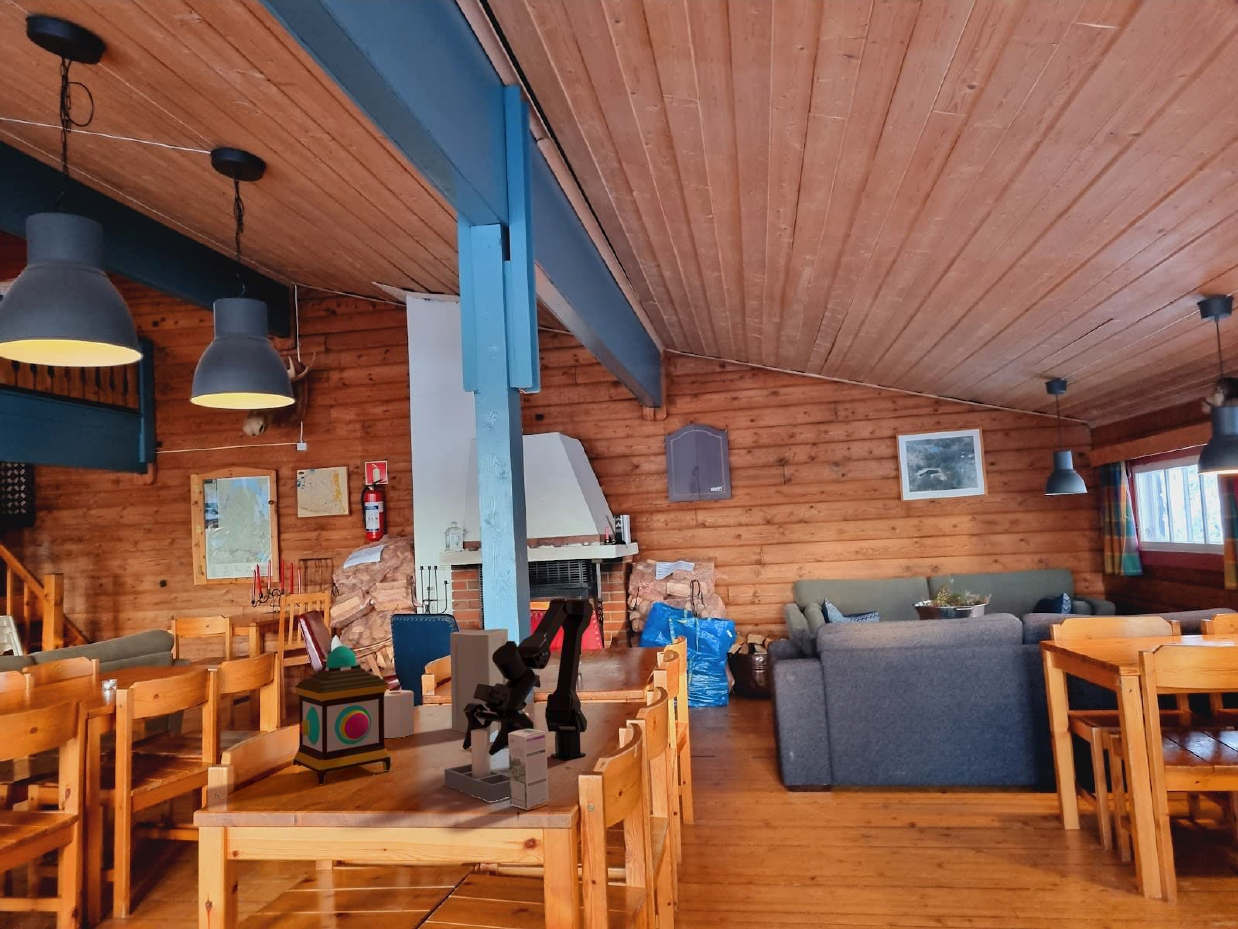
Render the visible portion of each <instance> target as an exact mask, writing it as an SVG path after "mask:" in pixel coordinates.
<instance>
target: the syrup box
mask: <svg viewBox="0 0 1238 929" xmlns="http://www.w3.org/2000/svg"><path fill="white" fill-rule="evenodd" d="M508 743H509V745H508V766H509V768H508V770H509V772H508V773H509V774H508V775H510V799H509V801H510V805H511V804H514V805H516V806H520V807H523V808H530V807H532V806H534V805H536V804H541V803H543V802H545V801H549V785H548V783H549V781H548V755H547V754H548V753H547V751H548V749H547V732H546V731H543V730H538V729H522V730H517V731H514V732H511V733H508ZM549 802H550V801H549Z"/></svg>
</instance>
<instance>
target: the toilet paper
mask: <svg viewBox="0 0 1238 929" xmlns="http://www.w3.org/2000/svg"><path fill="white" fill-rule="evenodd" d="M414 696H415V692H414V691H412V690H408V689H407V690H406V689H405V690H404V689H402V690H401V689H400V690H391V691H390V690H389V691H386V692H385V694H384V738H394V737H402V736H408V737H410V736H409V735H411V734H413V733H414V734H415V705H414V701H415V700H414V699H415V698H414ZM414 734H413V735H414ZM411 736H412V735H411Z"/></svg>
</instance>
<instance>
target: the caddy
mask: <svg viewBox="0 0 1238 929" xmlns="http://www.w3.org/2000/svg"><path fill="white" fill-rule="evenodd" d="M445 785H446V786H445ZM444 786H445V787H447V786H448V787H447V788H449V787H452V788H454V789H456V790H455V791H457V790H460V791H462V792H464V793H463V794H465V793H466V795H467V794H470V795H473V796H475V797H480V798H482V799H485V800H487V801H496V800H500V799H503V798H505V797H510V775H509V774H507V773H503V772H501V771H497V770H495V769H491V776H487V777H482V778H478V779H476V778H473V777H472V763H469V764H464V765H459V766H455V767H450V768H446V769H444ZM452 788H451V789H452ZM454 789H453V790H454ZM460 791H459V792H460ZM462 792H461V793H462ZM470 795H469V796H470ZM473 796H472V797H473ZM475 797H474V798H475Z"/></svg>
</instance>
